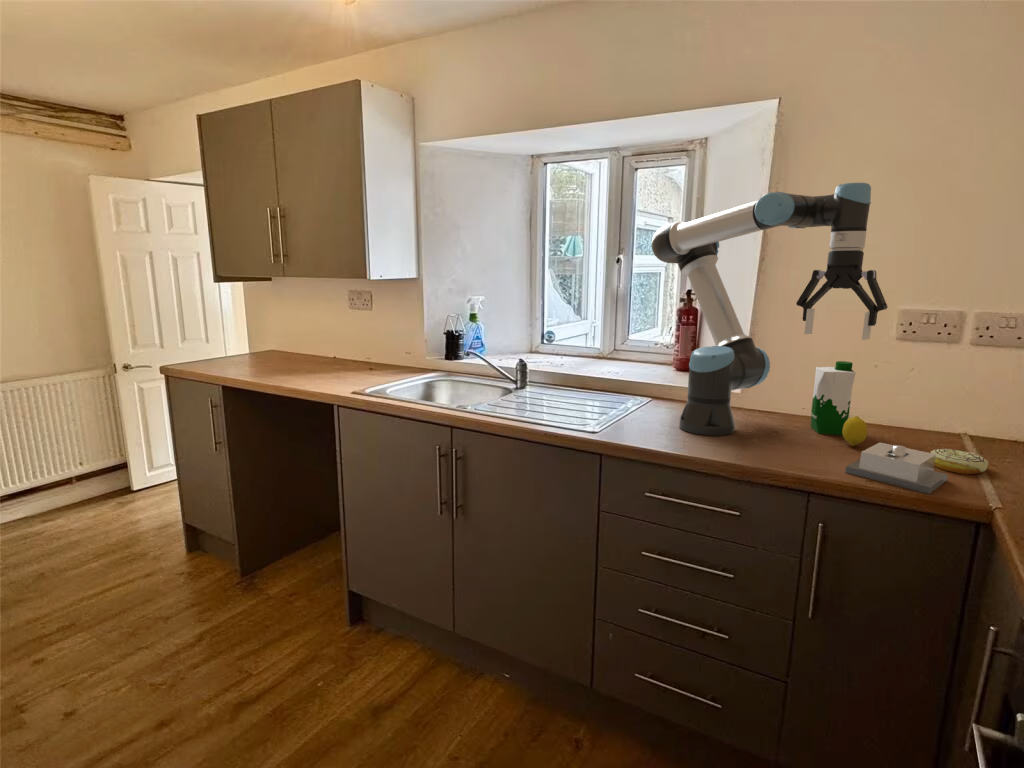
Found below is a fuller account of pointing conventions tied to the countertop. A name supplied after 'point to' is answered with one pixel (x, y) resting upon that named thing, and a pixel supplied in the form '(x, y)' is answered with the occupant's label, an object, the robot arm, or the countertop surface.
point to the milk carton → (832, 398)
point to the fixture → (922, 486)
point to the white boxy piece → (897, 462)
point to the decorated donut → (959, 461)
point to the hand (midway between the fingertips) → (835, 336)
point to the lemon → (854, 430)
